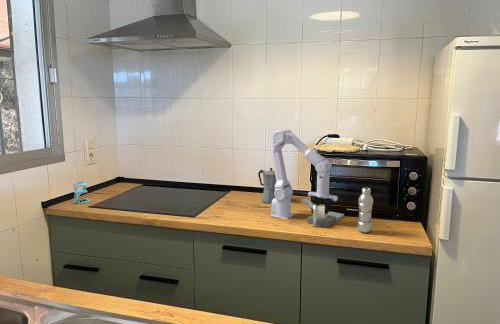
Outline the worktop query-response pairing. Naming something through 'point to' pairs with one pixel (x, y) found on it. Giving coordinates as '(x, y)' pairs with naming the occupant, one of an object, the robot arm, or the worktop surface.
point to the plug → (322, 212)
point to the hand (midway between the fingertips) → (322, 212)
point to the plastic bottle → (365, 210)
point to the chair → (79, 192)
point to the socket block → (323, 221)
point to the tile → (338, 215)
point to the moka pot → (268, 185)
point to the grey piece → (315, 210)
